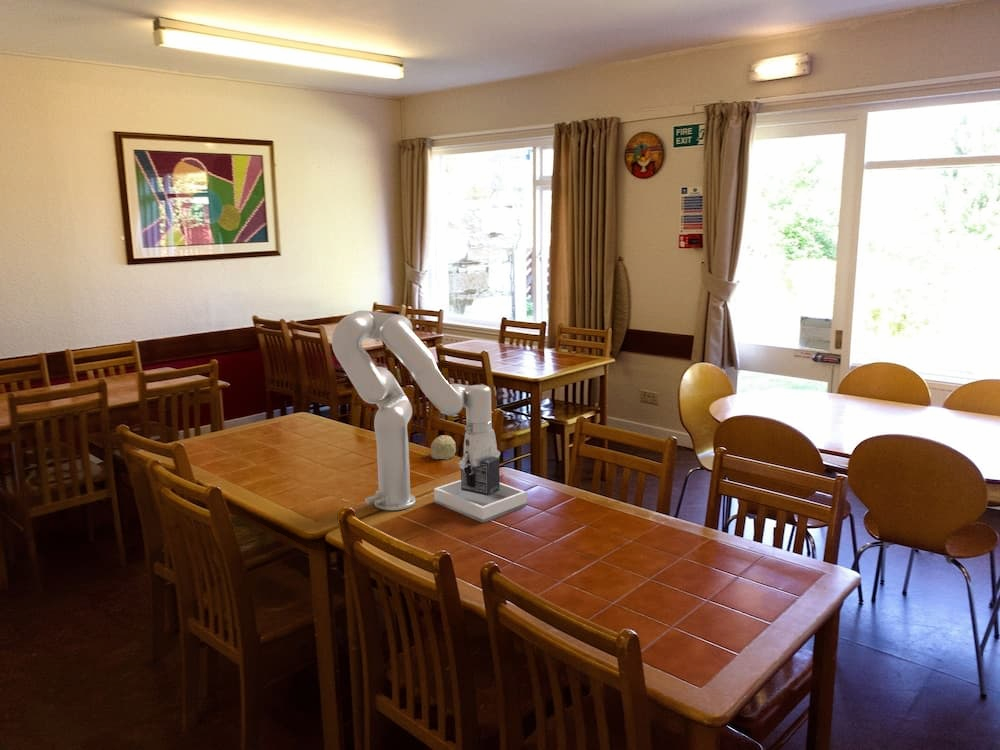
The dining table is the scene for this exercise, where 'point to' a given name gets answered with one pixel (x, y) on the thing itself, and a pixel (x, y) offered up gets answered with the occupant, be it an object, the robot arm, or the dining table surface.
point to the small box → (484, 477)
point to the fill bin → (480, 501)
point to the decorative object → (443, 447)
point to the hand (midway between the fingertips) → (480, 482)
